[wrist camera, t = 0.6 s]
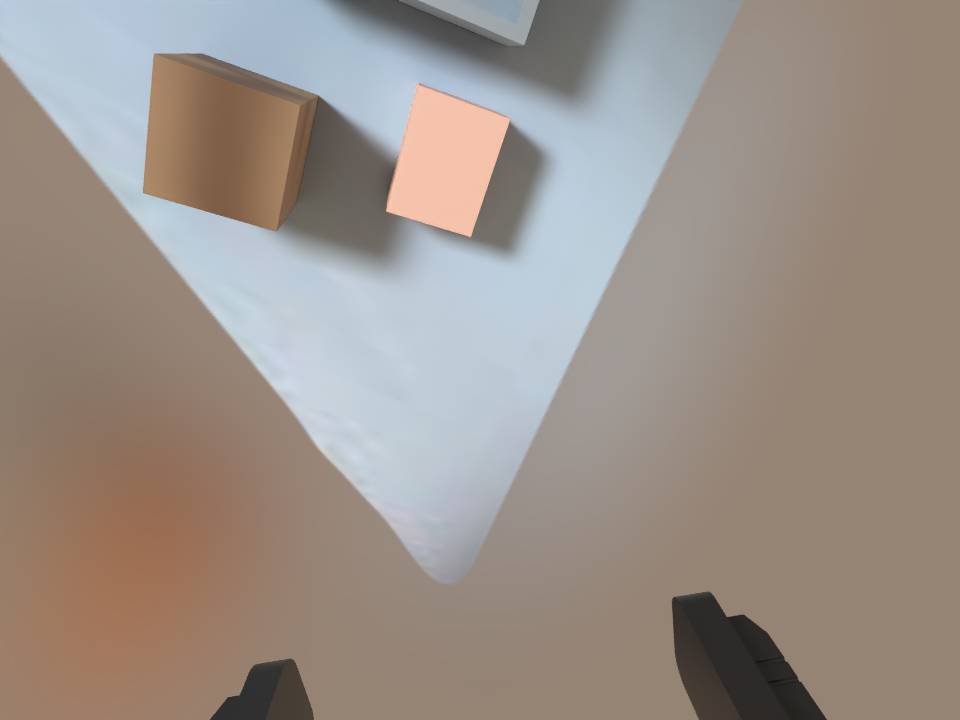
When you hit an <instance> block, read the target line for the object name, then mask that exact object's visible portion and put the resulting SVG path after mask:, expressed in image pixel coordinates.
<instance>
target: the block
mask: <svg viewBox="0 0 960 720" xmlns="http://www.w3.org/2000/svg"><path fill="white" fill-rule="evenodd" d="M318 97H319V96H318V95H315V94H313V93H310V92H307V91H304V90H301V89H299V88H296V87H293V86H290V85H288V84H285V83H282V82H279V81H276V80H274V79H271V78H268V77H265V76H263V75H260V74H257V73H254V72H251V71H249V70H246V69H243V68H240V67H238V66H235V65H232V64H229V63H226V62H224V61H221V60H218V59H215V58H213V57H210V56H207V55H204V54H154V59H153V71H152V84H151V97H150V109H149V122H148V135H147V147H146V160H145V173H144V185H143V193H145V194H148V195H152V196H155V197H158V198H162V199H165V200H169V201H172V202H176V203H179V204H183V205H186V206H190V207H193V208H197V209H200V210H203V211H207V212H210V213H214V214H217V215H221V216H224V217H228V218H231V219H235V220H238V221H241V222H245V223H248V224H252V225H255V226H259V227H262V228H266V229H269V230H273V231H277V230H278V229H279V227H280V226H281V224H282V223H283V221H284V220H285V218H286V217H287V216H288V214H289V213H290V211H291V210H292V208H293V207H294V205H295V204H296V203H297V201H298V196H299V191H300V186H301V181H302V176H303V171H304V166H305V161H306V157H307V152H308V147H309V142H310V137H311V132H312V127H313V122H314V117H315V112H316V107H317V102H318Z"/></svg>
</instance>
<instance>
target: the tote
mask: <svg viewBox="0 0 960 720" xmlns="http://www.w3.org/2000/svg"><path fill="white" fill-rule="evenodd" d="M398 1H400V2H402V3H405V4H407V5H410V6H412V7H414V8H417V9H419V10H421V11H424V12H426V13H429V14H431V15H433V16H436V17H438V18H440V19H443V20H445V21H448V22H450V23H452V24H455V25H457V26H459V27H462V28H464V29H467V30H469V31H471V32H474V33H476V34H478V35H481V36H483V37H486V38H488V39H490V40H493V41H495V42H497V43H500V44H502V45H504V46H522V45H525V42H526V39H527V36H528V33H529V30H530V27H531V24H532V21H533V18H534V15H535V12H536V9H537V6H538V4H539V1H540V0H398Z"/></svg>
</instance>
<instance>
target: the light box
mask: <svg viewBox="0 0 960 720" xmlns="http://www.w3.org/2000/svg"><path fill="white" fill-rule="evenodd" d="M509 122H510V118H508V117H506V116H504V115H503V114H501V113H499V112H496V111H494V110H491V109H488V108H485V107H483V106H480V105H477V104H475V103H472V102H469V101H467V100H464V99H461V98H459V97H456V96H453V95H450V94H448V93H445V92H442V91H440V90H437V89H434V88H432V87H429V86H426V85H424V84H421V83H418V82H417V85H416V89H415V92H414V96H413V100H412V104H411V108H410V112H409V116H408V119H407V123H406V127H405V131H404V135H403V139H402V142H401V146H400V150H399V154H398V158H397V162H396V166H395V169H394V173H393V177H392V181H391V185H390V189H389V192H388V196H387V209H386V212H390V213H393V214H396V215H399V216H403V217H406V218H409V219H413V220H416V221H419V222H423V223H426V224H429V225H432V226H436V227H439V228H442V229H446V230H449V231H452V232H456V233H459V234H462V235H466V236H469V237H471V235H472V232H473V229H474V226H475V223H476V220H477V217H478V214H479V211H480V208H481V205H482V202H483V199H484V196H485V193H486V190H487V187H488V184H489V181H490V178H491V175H492V172H493V169H494V166H495V163H496V160H497V157H498V154H499V151H500V148H501V145H502V142H503V139H504V136H505V133H506V130H507V128H508V125H509Z"/></svg>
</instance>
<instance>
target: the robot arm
mask: <svg viewBox="0 0 960 720" xmlns="http://www.w3.org/2000/svg"><path fill="white" fill-rule="evenodd" d="M672 612H673V628H674V646H675V657H676V662H677V666H678V670H679V673H680V676H681V679H682V682H683V684H684V687H685V689H686V691H687V694H688V696H689V698H690V700H691V703H692V705H693V707H694V709H695V711H696V714H697V716H698V718H699V720H827V719H826V718H825V716H824V715H823V713H822V712H821V710H820V709H819V707H818V706H817V705H816V703H815V702H814V700H813V699H812V697H811V696H810V694H809V693H808V691H807V690H806V688H805V687H804V686H803V684H802V683H801V682H799V680H798V677H797V675H796V674H795V673H794V671H793V669H792V668H791V667H790V665H789V664H788V662H786V661H785V659H784V656H783V655H782V654H781V652H780V650H779V649H778V648H777V646H776V645H775V643H774V642H773V640H772V639H771V637H770V636H769V634H768V633H767V632H765V631H764V630H763V629H762V628H760V627H759V626H758V625H756V624H755V623H754V622H753V621H751V620H750V619H749V618H747V617H746V616H745V615H738V616H732V617H726V615H725V613H724V612H723V610H722V609H721V607H720V605H719V604H718V602H717V600H716V599H715V597H714V596H713V595H712V594H711V593H710V592H702V593H696V594H691V595H684V596H678V597H674V598H673V599H672ZM210 720H314V717H313V711H312V708H311V705H310V702H309V700H308V696H307V694H306V691H305V688H304V685H303V682H302V680H301V677H300V674H299V671H298V668H297V665H296V663H295V661H294V660H293V659H285V660H279V661H273V662H267V663H261V664H256V665H254V666H253V667H252V669H251V670H250V672H249V674H248V677H247V679H246V682H245V684H244V687H243V689H242V691H241V694H240V695H239V696H233V697H228V698H227V699H226V700H225V702H224V703H223V704H222V705H221V707H220V708H219V709H218V710H217V712H216V713H215V714H214V715H213V716H212V718H211V719H210Z"/></svg>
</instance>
